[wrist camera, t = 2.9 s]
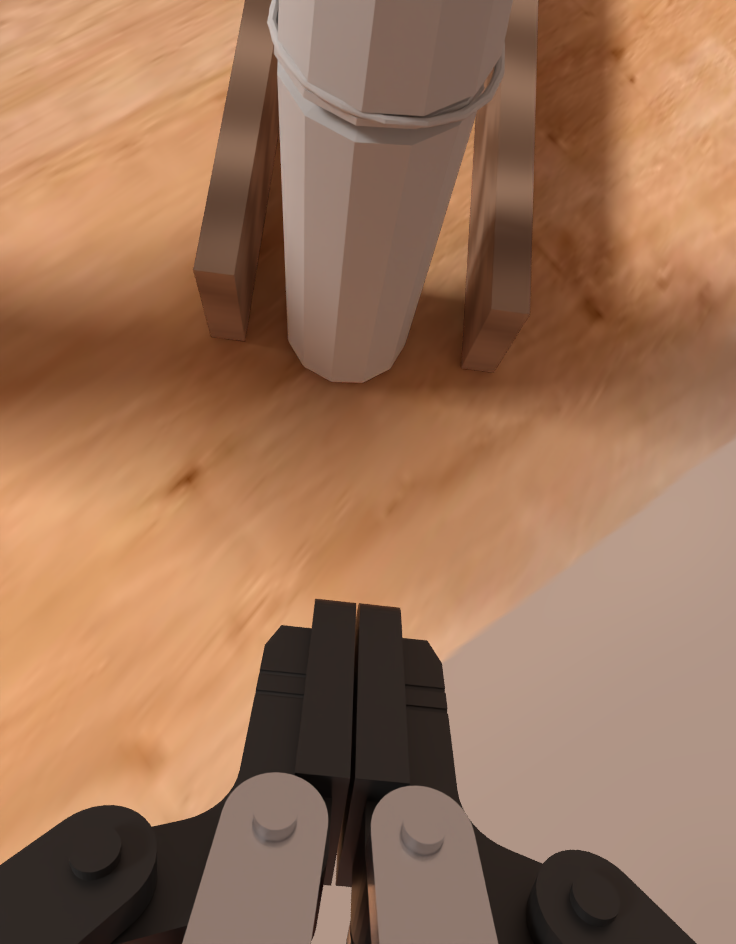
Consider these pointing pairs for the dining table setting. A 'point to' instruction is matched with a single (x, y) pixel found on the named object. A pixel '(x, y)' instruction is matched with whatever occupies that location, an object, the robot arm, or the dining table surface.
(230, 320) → the bottle rest
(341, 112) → the water bottle
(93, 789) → the dining table surface
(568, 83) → the dining table surface
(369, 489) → the dining table surface
